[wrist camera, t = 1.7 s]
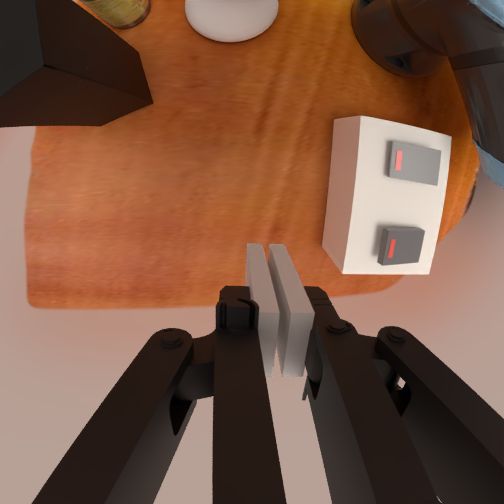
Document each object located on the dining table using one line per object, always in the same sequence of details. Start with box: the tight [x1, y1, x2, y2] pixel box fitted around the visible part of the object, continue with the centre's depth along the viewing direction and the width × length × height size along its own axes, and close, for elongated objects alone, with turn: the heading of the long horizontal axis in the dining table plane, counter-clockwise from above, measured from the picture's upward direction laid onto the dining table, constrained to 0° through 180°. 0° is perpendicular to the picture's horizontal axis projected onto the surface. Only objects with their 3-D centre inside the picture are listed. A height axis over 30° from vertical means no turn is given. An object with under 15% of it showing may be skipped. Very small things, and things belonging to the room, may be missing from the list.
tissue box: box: [0, 0, 153, 128], centre depth 20 cm, size 8×8×28 cm
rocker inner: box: [387, 141, 441, 186], centre depth 28 cm, size 6×4×1 cm
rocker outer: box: [377, 228, 425, 266], centre depth 31 cm, size 6×4×1 cm
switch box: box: [322, 115, 452, 274], centre depth 35 cm, size 12×17×9 cm
